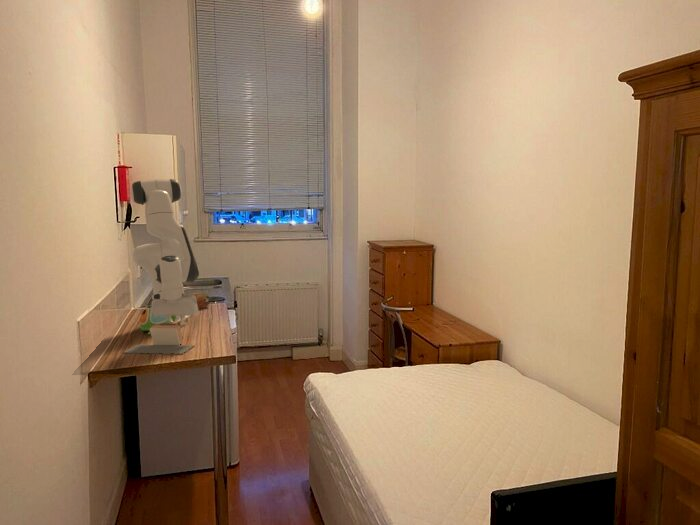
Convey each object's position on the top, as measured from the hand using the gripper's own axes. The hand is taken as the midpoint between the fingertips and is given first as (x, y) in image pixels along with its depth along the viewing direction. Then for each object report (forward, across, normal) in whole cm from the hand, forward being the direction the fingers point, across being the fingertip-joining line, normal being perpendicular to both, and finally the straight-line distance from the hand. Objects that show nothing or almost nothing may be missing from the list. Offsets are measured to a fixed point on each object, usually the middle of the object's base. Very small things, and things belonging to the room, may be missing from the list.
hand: (176, 325), depth 227 cm
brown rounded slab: (+6, +20, -57) cm, 61 cm away
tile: (+6, 0, +7) cm, 10 cm away
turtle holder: (+6, +17, -14) cm, 23 cm away
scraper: (+2, 0, -1) cm, 2 cm away
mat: (+6, 0, +15) cm, 16 cm away
